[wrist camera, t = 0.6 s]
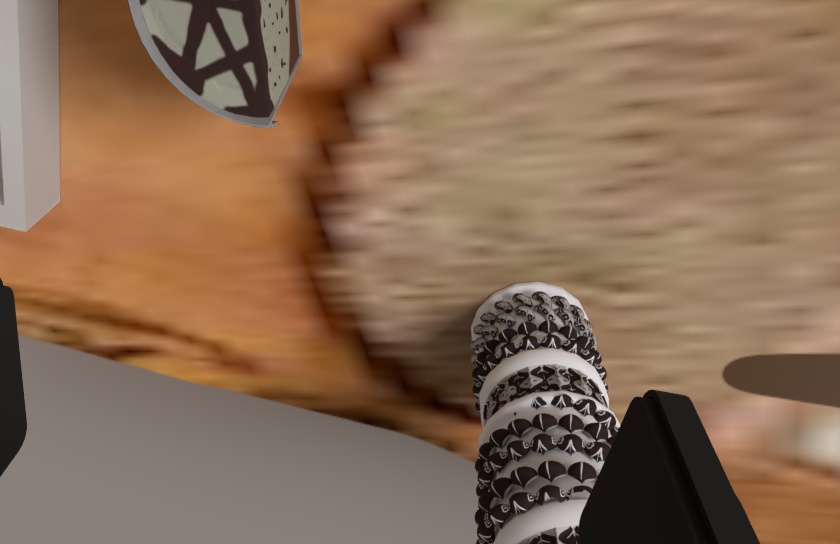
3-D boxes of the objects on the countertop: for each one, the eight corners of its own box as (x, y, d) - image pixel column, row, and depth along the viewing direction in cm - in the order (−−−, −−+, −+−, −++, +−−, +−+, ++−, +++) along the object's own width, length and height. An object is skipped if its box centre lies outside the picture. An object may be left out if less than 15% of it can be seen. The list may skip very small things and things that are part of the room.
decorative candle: (579, 260, 48) (691, 585, 27) (605, 365, 53) (719, 719, 31) (449, 294, 50) (455, 626, 28) (485, 393, 54) (513, 748, 33)
